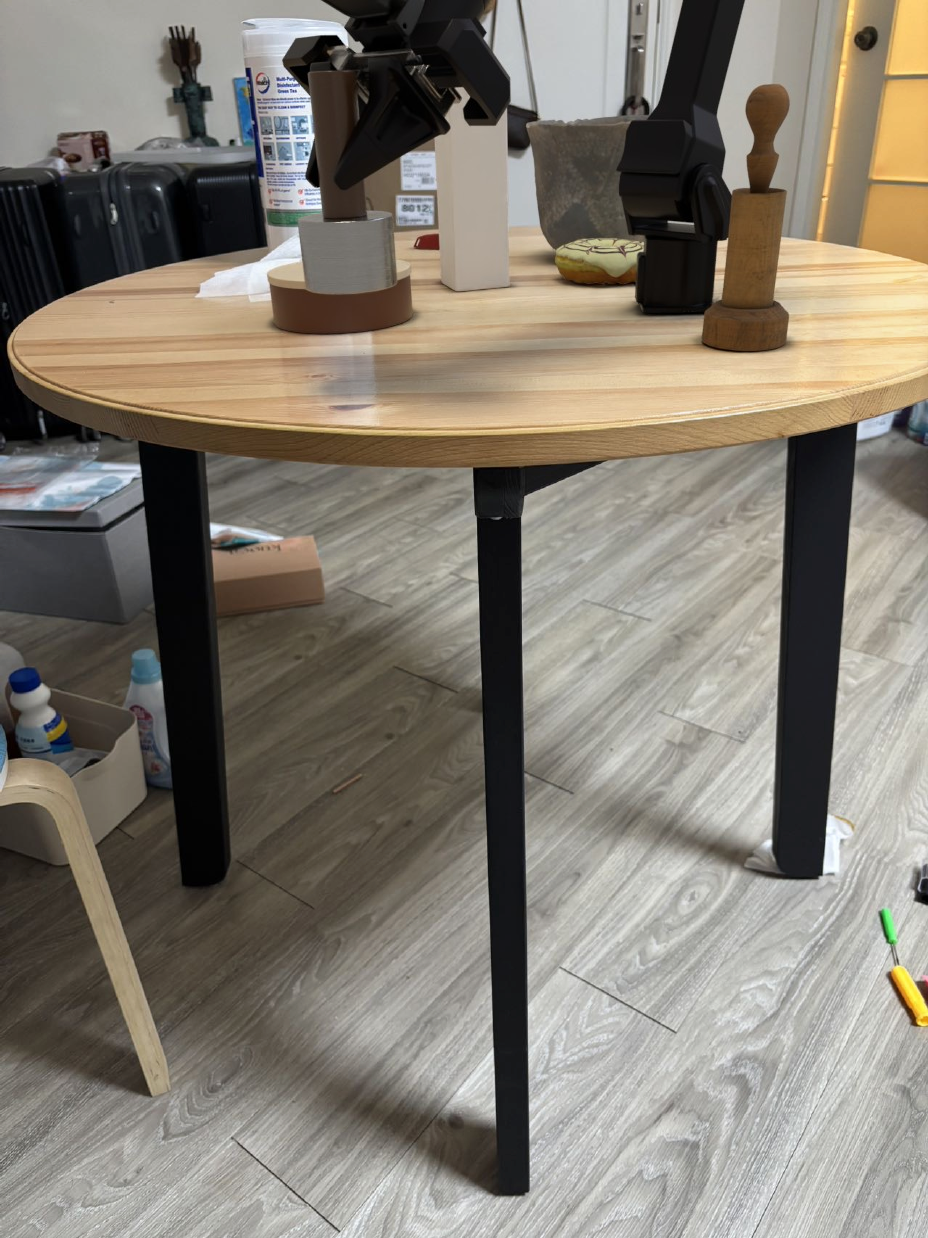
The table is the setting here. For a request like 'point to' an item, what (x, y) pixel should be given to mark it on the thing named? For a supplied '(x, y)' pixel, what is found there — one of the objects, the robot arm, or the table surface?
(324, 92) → the brown and silver tamper
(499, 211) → the milk
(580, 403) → the table surface
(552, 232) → the grey stone pot
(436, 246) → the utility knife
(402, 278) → the cake
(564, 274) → the decorated donut
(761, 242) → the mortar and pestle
